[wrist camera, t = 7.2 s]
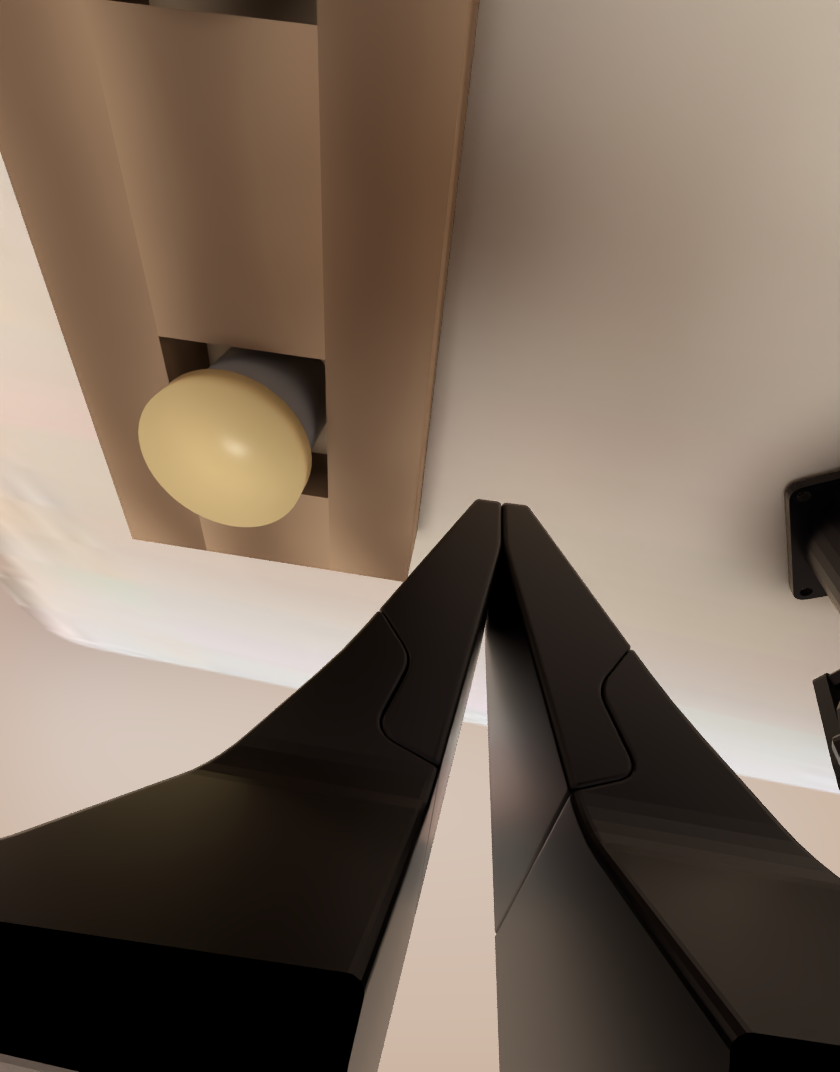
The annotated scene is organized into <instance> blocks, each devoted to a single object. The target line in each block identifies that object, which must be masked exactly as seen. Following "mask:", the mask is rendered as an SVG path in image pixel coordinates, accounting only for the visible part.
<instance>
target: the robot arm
mask: <svg viewBox="0 0 840 1072" xmlns="http://www.w3.org/2000/svg"><path fill="white" fill-rule="evenodd" d="M802 492H806V493H805V494H804V495H802V496H798V495H799V494H800V493H802ZM785 504H786V524H787V543H788V563H789V583H790V590H791V592H792V593H793V595H794V597H795V598H797V599H801V600H804V599H811V598H817V597H823V596H829V598H830V599H831V601H832V602H833V604H834V606H835V607H836V609H837V610H838V612H839V613H840V471H839V472H835V473H831V474H827V475H823V476H819V477H815V478H811V479H807V480H803V481H799V482H796V483H794V484H792V485H791V486H789V487H788V489H787V490H786V493H785ZM805 588H806V589H805ZM802 589H803V590H802ZM485 624H486V626H485ZM484 628H485V654H486V684H487V713H488V741H489V769H490V770H489V771H490V800H491V829H492V859H493V888H494V916H495V932H496V936H495V950H496V978H497V1008H498V1037H499V1064H500V1072H840V878H839V877H838V876H836V875H835V874H834V873H832V872H831V871H830V870H829V869H828V868H826V867H825V866H824V865H823V864H821V863H820V862H819V861H818V860H816V859H815V858H814V857H813V856H812V855H811V854H810V853H809V852H808V851H807V850H805V848H803V847H802V846H801V845H800V844H799V843H798V842H797V841H796V840H795V839H794V838H793V837H792V836H791V834H789V832H787V830H786V829H785V828H784V827H783V826H782V825H781V824H780V823H779V822H778V821H777V819H776V818H775V817H774V816H773V815H772V814H771V813H770V812H769V811H768V809H767V808H766V807H765V806H764V805H763V804H762V803H761V802H760V800H759V799H758V798H757V797H756V796H755V795H754V794H753V793H752V791H751V790H750V789H749V788H748V787H747V786H746V785H745V784H744V783H743V781H742V780H741V779H740V778H739V777H738V776H737V775H736V774H735V772H734V771H733V770H732V769H731V768H730V767H729V766H728V765H727V763H726V762H725V761H724V760H723V759H722V758H721V757H720V756H719V754H718V753H717V752H716V751H715V750H714V749H713V748H712V747H711V746H710V744H709V743H708V742H707V741H706V740H705V739H704V738H703V737H702V735H701V734H700V733H699V732H698V731H697V730H696V728H695V727H694V726H693V725H692V724H691V723H690V721H689V720H688V719H687V718H686V717H685V716H684V714H683V713H682V712H681V711H680V710H679V709H678V707H677V706H676V705H675V704H674V703H673V702H672V700H671V699H670V698H669V696H668V695H667V694H666V693H665V691H664V690H663V689H662V687H661V686H660V685H659V683H658V682H657V681H656V680H655V678H654V677H653V676H652V674H651V673H650V672H649V671H648V669H647V668H646V666H645V665H644V664H643V662H642V661H641V660H640V658H639V657H638V656H637V654H636V653H635V651H633V650H630V645H629V644H628V642H627V641H626V640H625V638H624V637H623V635H622V634H621V633H620V631H619V630H618V629H617V627H616V626H615V624H614V623H613V622H612V620H611V619H610V618H609V616H608V615H607V614H606V612H605V611H604V609H603V608H602V607H601V605H600V604H599V603H598V601H597V600H596V598H595V597H594V596H593V594H592V593H591V592H590V590H589V589H588V587H587V586H586V585H585V583H584V582H583V581H582V579H581V578H580V577H579V575H578V574H577V572H576V571H575V570H574V568H573V567H572V566H571V564H570V563H569V561H568V560H567V559H566V557H565V556H564V555H563V553H562V552H561V551H560V549H559V548H558V546H557V545H556V544H555V542H554V541H553V540H552V538H551V537H550V535H549V534H548V533H547V531H546V530H545V529H544V527H543V526H542V525H541V523H540V522H539V520H538V519H537V518H536V516H535V515H534V514H533V512H532V511H531V509H530V508H529V507H528V506H526V505H519V504H512V503H504V504H503V505H502V506H501V504H500V503H499V502H497V501H489V500H482V499H478V500H476V501H475V502H474V503H473V504H472V505H471V506H470V507H469V508H468V509H467V511H466V512H465V513H464V514H463V515H462V516H461V517H460V519H459V520H458V521H457V522H456V523H455V524H454V525H453V527H452V528H451V529H450V530H449V531H448V532H447V533H446V534H445V536H444V537H443V538H442V539H441V540H440V541H439V542H438V544H437V545H436V546H435V547H434V548H433V549H432V550H431V552H430V553H429V554H428V555H427V556H426V557H425V558H424V559H423V561H422V562H421V563H420V564H419V565H418V566H417V567H416V569H415V570H414V571H413V572H412V573H411V574H410V575H409V577H408V578H407V579H406V580H405V581H404V582H403V583H402V585H401V586H400V587H399V588H398V589H397V590H396V591H395V592H394V594H393V595H392V596H391V597H390V598H389V599H388V600H387V602H386V603H385V604H384V605H383V606H382V607H381V608H380V612H377V613H376V614H375V615H374V616H373V617H372V618H371V619H370V621H369V622H368V623H367V624H366V625H365V626H364V627H363V628H362V630H361V631H360V632H359V633H358V634H357V635H356V636H355V637H354V638H353V639H352V640H351V641H350V642H349V643H348V644H347V645H346V646H345V647H344V648H343V650H342V651H340V652H339V653H338V654H337V655H336V656H335V657H334V658H333V659H332V660H331V661H330V662H328V663H327V664H326V665H325V666H324V667H323V668H322V669H321V670H320V671H319V672H318V673H316V674H315V675H314V676H313V677H312V678H311V679H310V680H308V681H307V682H306V683H305V684H304V685H303V686H301V687H300V688H299V689H298V690H297V691H296V692H295V693H293V694H292V695H291V696H290V697H289V698H288V699H286V700H285V701H284V702H283V703H282V704H281V705H280V706H278V707H277V708H276V709H275V710H274V711H273V712H272V713H270V714H269V715H268V716H267V717H266V718H265V719H263V720H262V721H261V722H260V723H259V724H258V725H256V726H255V727H254V728H253V729H252V730H251V731H250V732H248V733H247V734H246V735H245V736H244V737H242V738H241V739H240V740H239V741H238V742H237V743H235V744H234V745H233V746H231V747H230V748H228V749H227V750H226V751H224V752H223V753H221V754H220V755H218V756H216V757H215V758H213V759H212V760H210V761H208V762H206V763H205V764H203V765H201V766H199V767H197V768H195V769H193V770H191V771H188V772H185V773H183V774H180V775H177V776H174V777H172V778H169V779H166V780H163V781H160V782H158V783H155V784H152V785H149V786H146V787H144V788H141V789H138V790H136V791H133V792H130V793H127V794H124V795H121V796H119V797H116V798H113V799H110V800H108V801H105V802H102V803H99V804H97V805H94V806H91V807H88V808H86V809H83V810H80V811H77V812H74V813H71V814H69V815H66V816H63V817H61V818H58V819H55V820H52V821H49V822H46V823H44V824H41V825H38V826H35V827H33V828H30V829H27V830H24V831H21V832H19V833H16V834H13V835H10V836H7V837H3V838H0V1072H377V1069H378V1066H379V1062H380V1058H381V1054H382V1049H383V1046H384V1041H385V1037H386V1033H387V1029H388V1025H389V1021H390V1017H391V1012H392V1009H393V1004H394V1000H395V996H396V992H397V988H398V984H399V980H400V976H401V972H402V967H403V963H404V959H405V955H406V951H407V946H408V943H409V939H410V934H411V930H412V926H413V922H414V916H415V914H416V910H417V906H418V901H419V897H420V893H421V889H422V885H423V881H424V877H425V873H426V869H427V865H428V860H429V856H430V852H431V848H432V844H433V840H434V835H435V831H436V828H437V823H438V819H439V815H440V811H441V807H442V803H443V799H444V795H445V790H446V787H447V782H448V778H449V774H450V770H451V766H452V762H453V758H454V753H455V749H456V745H457V741H458V737H459V733H460V729H461V725H462V721H463V717H464V713H465V708H466V704H467V700H468V696H469V692H470V688H471V684H472V680H473V676H474V671H475V667H476V663H477V659H478V655H479V651H480V647H481V643H482V638H483V633H484ZM813 685H814V689H815V694H816V698H817V702H818V706H819V711H820V715H821V719H822V723H823V728H824V732H825V736H826V740H827V745H828V749H829V753H830V757H831V762H832V766H833V769H834V772H835V775H836V779H837V784H838V787H839V790H840V669H839V670H837V671H835V672H833V673H831V674H828V673H826V674H824V675H822V676H820V677H818V678H816V679H814V680H813Z"/></svg>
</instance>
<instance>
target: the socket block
mask: <svg viewBox="0 0 840 1072" xmlns="http://www.w3.org/2000/svg"><path fill="white" fill-rule="evenodd" d="M478 8H479V0H0V152H1V155H2V158H3V161H4V163H5V166H6V169H7V172H8V175H9V178H10V181H11V184H12V187H13V190H14V193H15V196H16V199H17V202H18V204H19V207H20V210H21V213H22V216H23V219H24V222H25V225H26V228H27V231H28V234H29V237H30V240H31V243H32V245H33V248H34V251H35V254H36V257H37V260H38V263H39V266H40V269H41V272H42V275H43V278H44V281H45V284H46V286H47V289H48V292H49V295H50V298H51V301H52V304H53V307H54V310H55V313H56V316H57V319H58V322H59V325H60V327H61V330H62V333H63V336H64V339H65V342H66V345H67V348H68V351H69V354H70V357H71V360H72V363H73V366H74V368H75V371H76V374H77V377H78V380H79V383H80V386H81V389H82V392H83V395H84V398H85V401H86V404H87V407H88V409H89V412H90V415H91V418H92V421H93V424H94V427H95V430H96V433H97V436H98V439H99V442H100V445H101V448H102V450H103V453H104V456H105V459H106V462H107V465H108V468H109V471H110V474H111V477H112V480H113V483H114V486H115V489H116V491H117V494H118V497H119V500H120V503H121V506H122V509H123V512H124V515H125V518H126V521H127V524H128V527H129V530H130V532H131V535H132V538H133V539H137V540H143V541H149V542H156V543H162V544H168V545H175V546H181V547H187V548H194V549H200V550H206V551H213V552H219V553H225V554H232V555H238V556H244V557H250V558H257V559H263V560H269V561H276V562H282V563H288V564H295V565H301V566H307V567H314V568H320V569H326V570H333V571H339V572H345V573H352V574H358V575H364V576H371V577H377V578H383V579H390V580H396V581H402V582H404V581H405V580H406V579H407V577H408V572H409V567H410V562H411V558H412V553H413V548H414V543H415V538H416V534H417V528H418V519H419V511H420V502H421V494H422V485H423V477H424V468H425V459H426V451H427V442H428V434H429V425H430V417H431V408H432V400H433V391H434V383H435V374H436V366H437V357H438V349H439V340H440V332H441V323H442V315H443V306H444V297H445V289H446V280H447V272H448V263H449V255H450V246H451V238H452V229H453V221H454V212H455V204H456V195H457V187H458V178H459V170H460V161H461V153H462V144H463V136H464V127H465V118H466V110H467V101H468V93H469V84H470V76H471V67H472V59H473V50H474V42H475V33H476V25H477V16H478ZM231 347H238V348H245V349H252V350H259V351H266V352H273V353H280V354H287V355H294V356H301V357H308V358H315V359H320V360H321V361H322V362H323V364H324V365H325V376H326V418H327V423H326V424H325V426H324V428H323V430H322V432H321V433H320V435H319V437H318V439H317V441H316V442H315V444H314V446H313V448H312V450H311V455H312V467H311V472H310V476H309V479H308V482H307V484H306V486H305V487H304V489H303V491H302V493H301V495H300V497H299V499H298V501H297V502H296V504H295V506H294V507H293V508H292V509H291V511H290V512H289V513H287V514H286V515H285V516H284V517H282V518H281V519H279V520H277V521H275V522H273V523H270V524H267V525H263V526H258V527H235V526H229V525H224V524H221V523H217V522H214V521H211V520H209V519H206V518H204V517H202V516H200V515H198V514H196V513H194V512H192V511H191V510H189V509H188V508H186V507H184V506H183V505H182V504H180V503H179V502H178V501H176V500H175V499H174V498H173V497H172V496H171V495H170V494H168V493H167V491H166V490H165V489H164V488H163V487H162V486H161V485H160V484H159V482H158V481H157V480H156V479H155V477H154V476H153V474H152V473H151V471H150V470H149V468H148V466H147V464H146V462H145V460H144V457H143V454H142V452H141V448H140V443H139V435H138V429H139V421H140V417H141V414H142V412H143V410H144V408H145V406H146V405H147V403H148V402H149V401H150V399H152V398H153V397H154V396H155V395H156V394H157V393H158V392H160V391H161V390H162V389H163V388H164V387H166V386H167V385H168V384H169V383H170V382H171V381H173V380H174V379H175V378H177V377H179V376H181V375H182V374H185V373H188V372H190V371H195V370H200V369H208V368H209V367H210V366H211V365H212V364H213V363H214V362H216V361H217V360H218V359H219V358H220V357H221V356H222V355H223V354H224V353H226V352H227V351H228V350H229V349H230V348H231Z"/></svg>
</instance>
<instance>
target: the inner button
mask: <svg viewBox="0 0 840 1072" xmlns="http://www.w3.org/2000/svg"><path fill="white" fill-rule="evenodd" d="M326 423H327V418H326V376H325V365H324V364H323V362H322V361H321V360H320V359H315V358H308V357H301V356H294V355H287V354H280V353H273V352H266V351H259V350H252V349H245V348H238V347H231V348H230V349H229V350H228V351H227V352H226V353H224V354H223V355H222V356H221V357H220V358H219V359H218V360H217V361H216V362H214V363H213V364H212V365H211V366H210V367H209V368H208V369H200V370H195V371H190V372H188V373H185V374H182V375H181V376H179V377H177V378H175V379H174V380H173V381H171V382H170V383H169V384H168V385H167V386H166V387H164V388H163V389H162V390H161V391H160V392H158V393H157V394H156V395H155V396H154V397H153V398H152V399H150V401H149V402H148V403H147V405H146V406H145V408H144V410H143V412H142V414H141V417H140V421H139V429H138V435H139V443H140V448H141V452H142V454H143V457H144V460H145V462H146V464H147V466H148V468H149V470H150V471H151V473H152V474H153V476H154V477H155V479H156V480H157V481H158V482H159V484H160V485H161V486H162V487H163V488H164V489H165V490H166V491H167V493H168V494H170V495H171V496H172V497H173V498H174V499H175V500H176V501H178V502H179V503H180V504H182V505H183V506H184V507H186V508H188V509H189V510H191V511H192V512H194V513H196V514H198V515H200V516H202V517H204V518H206V519H209V520H211V521H214V522H217V523H221V524H224V525H229V526H235V527H258V526H263V525H267V524H270V523H273V522H275V521H277V520H279V519H281V518H282V517H284V516H285V515H286V514H287V513H289V512H290V511H291V509H292V508H293V507H294V506H295V504H296V502H297V501H298V499H299V497H300V495H301V493H302V491H303V489H304V487H305V486H306V484H307V482H308V479H309V476H310V472H311V467H312V455H311V450H312V448H313V446H314V444H315V442H316V441H317V439H318V437H319V435H320V433H321V432H322V430H323V428H324V426H325V424H326Z"/></svg>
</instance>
